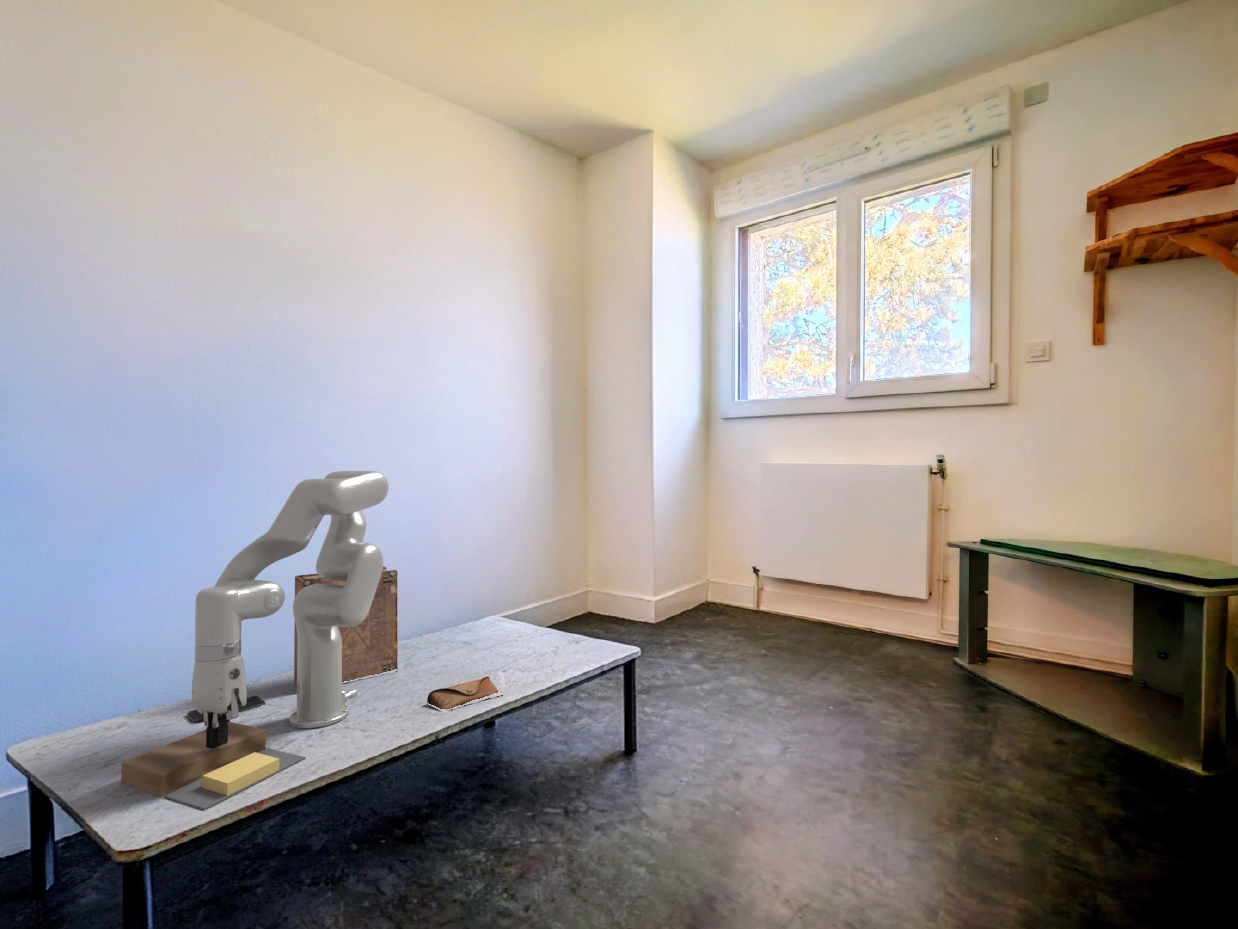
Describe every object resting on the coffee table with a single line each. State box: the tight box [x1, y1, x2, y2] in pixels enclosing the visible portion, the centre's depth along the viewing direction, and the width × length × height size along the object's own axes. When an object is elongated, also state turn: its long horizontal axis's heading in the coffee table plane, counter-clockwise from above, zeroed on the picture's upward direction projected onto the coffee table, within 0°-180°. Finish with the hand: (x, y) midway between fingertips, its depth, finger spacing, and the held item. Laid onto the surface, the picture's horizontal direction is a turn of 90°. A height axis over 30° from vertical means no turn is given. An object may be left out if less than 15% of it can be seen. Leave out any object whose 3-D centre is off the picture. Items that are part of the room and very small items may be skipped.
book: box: [293, 566, 398, 686], centre depth 168 cm, size 25×9×30 cm, turn 132°
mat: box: [163, 747, 307, 811], centre depth 113 cm, size 20×11×1 cm, turn 158°
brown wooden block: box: [120, 721, 267, 798], centre depth 117 cm, size 20×12×4 cm, turn 158°
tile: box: [202, 752, 279, 796], centre depth 111 cm, size 10×7×2 cm
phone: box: [186, 695, 266, 724], centre depth 145 cm, size 8×1×15 cm
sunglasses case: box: [426, 676, 499, 710], centre depth 152 cm, size 18×7×7 cm
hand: (217, 745), depth 115 cm, fingers closed
